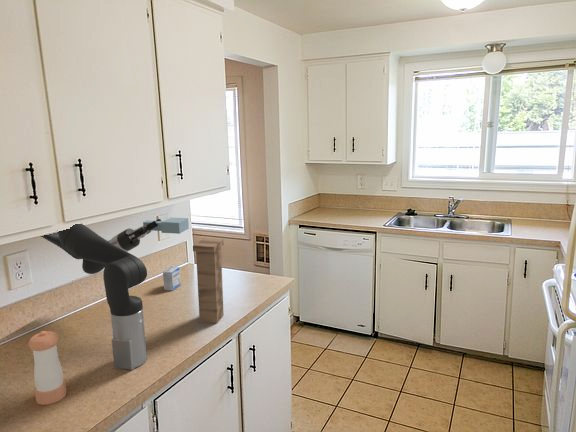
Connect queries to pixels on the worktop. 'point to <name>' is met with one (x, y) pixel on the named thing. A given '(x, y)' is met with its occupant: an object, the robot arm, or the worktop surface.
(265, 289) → the worktop surface
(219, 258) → the walnut stand
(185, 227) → the blue-grey stepped block
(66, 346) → the worktop surface
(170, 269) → the medicine box
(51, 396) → the salt shaker
